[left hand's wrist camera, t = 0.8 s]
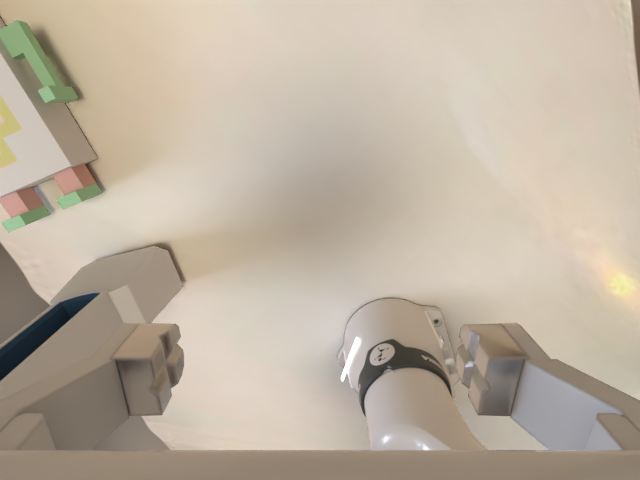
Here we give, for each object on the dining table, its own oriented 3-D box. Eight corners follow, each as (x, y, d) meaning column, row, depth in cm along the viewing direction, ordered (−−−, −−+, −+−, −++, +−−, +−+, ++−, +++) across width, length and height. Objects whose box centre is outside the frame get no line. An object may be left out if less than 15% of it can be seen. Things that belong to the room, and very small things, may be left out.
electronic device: (113, 300, 58) (-80, 488, 30) (91, 258, 55) (-143, 421, 27) (186, 283, 57) (57, 462, 29) (168, 240, 54) (5, 390, 26)
